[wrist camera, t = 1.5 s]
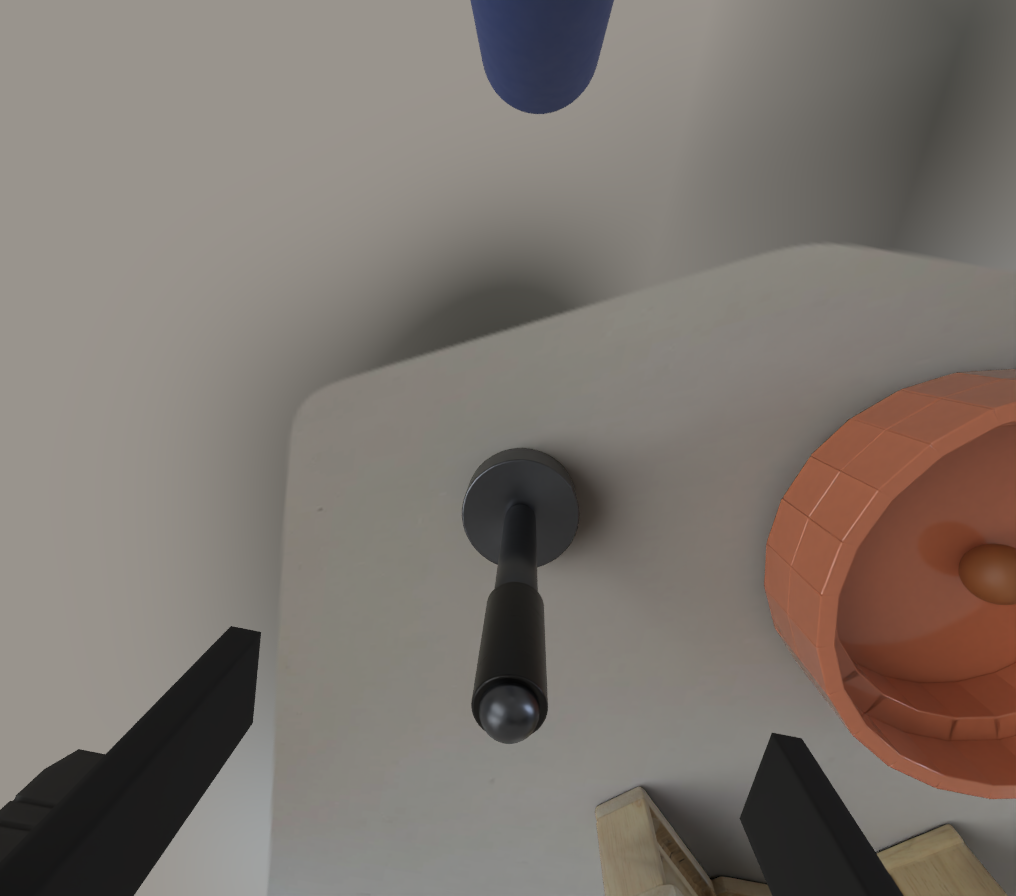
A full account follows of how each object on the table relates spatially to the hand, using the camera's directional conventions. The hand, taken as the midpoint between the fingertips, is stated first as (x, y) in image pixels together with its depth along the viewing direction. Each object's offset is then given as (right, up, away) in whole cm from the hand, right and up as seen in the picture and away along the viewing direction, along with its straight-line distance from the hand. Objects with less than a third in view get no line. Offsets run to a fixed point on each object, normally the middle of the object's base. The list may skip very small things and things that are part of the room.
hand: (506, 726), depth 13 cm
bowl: (+24, +2, +15) cm, 28 cm away
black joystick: (+1, +4, +16) cm, 16 cm away
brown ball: (+25, +1, +13) cm, 28 cm away
